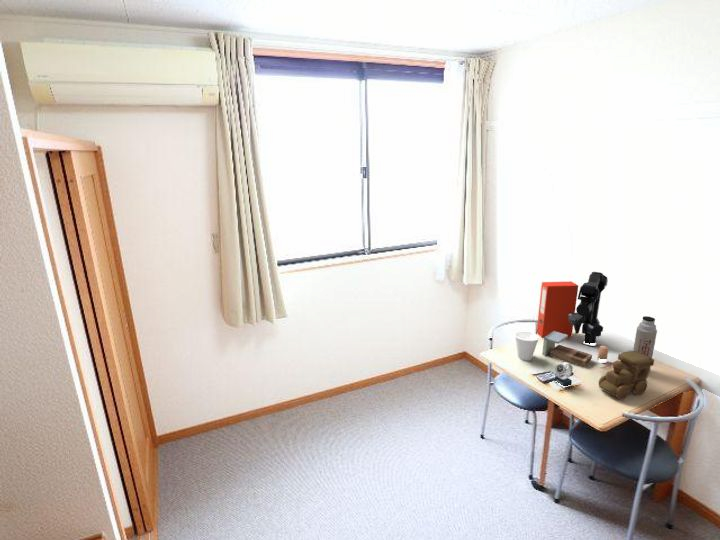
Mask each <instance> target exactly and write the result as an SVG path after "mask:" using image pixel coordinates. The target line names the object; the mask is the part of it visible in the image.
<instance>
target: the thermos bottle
mask: <svg viewBox="0 0 720 540" xmlns="http://www.w3.org/2000/svg"><path fill="white" fill-rule="evenodd" d="M655 321H656V318H654V317H652V316H647V315H646V316H643V317H642V321H640V322H639V324H638V326H637V327H636V332H635V337H634V343H633V348H632V349H633V350H632V351H637V352H640V353H642V354H644V355H646V356H649V357H650V358H652V359H653V355H654V350H655V345H656V338H657V334H658V330H657V325H656V324H655ZM651 367H652V366H650V368H651ZM650 373H651V369H650V370H649V373H648V375H650Z"/></svg>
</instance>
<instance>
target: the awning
mask: <svg viewBox="0 0 720 540" xmlns="http://www.w3.org/2000/svg"><path fill="white" fill-rule="evenodd" d="M567 338H569V337H568V335H566V334H562V333H559V332H556V331H553V332H552V333H550V334H549V335H547V336H546V337H544V338H543V345H542V353H541V355H542V356H544V357H546V356H547V355H548V354H550V352H551V350H552V349H553V348H555V347H556V344H557V345H560V343H562V342H563V341H565V339H567Z"/></svg>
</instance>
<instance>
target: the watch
mask: <svg viewBox="0 0 720 540" xmlns="http://www.w3.org/2000/svg"><path fill="white" fill-rule="evenodd" d="M567 367H568V368H567ZM573 369H574V367H573V364H571V363H568V362H565V361H563V362H560V363H557V364H556V365H555V368H554V371H555V375H556V376H554V382H555V381H557V382H558V383H560V384H561V385H563V386H568V385H571V386H572V381H573V380H572V379H571V378H570V376H571V375H572V373H573Z"/></svg>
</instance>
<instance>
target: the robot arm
mask: <svg viewBox="0 0 720 540" xmlns="http://www.w3.org/2000/svg"><path fill="white" fill-rule="evenodd" d="M608 279H609V278H608V277H607V276H606V275H605V274H604V273H602V272H598V271H592V272H591V273H590V274H589V276H588V281H587V282H584V283H583V284H582V285H580V287H579V290H578V294H577V300H579V301H580V302H579V304H578V305H577V306H576V308H575V313H570V314H569V315H568V320H569V323H571V324H572V325H573V329H574V332H575V334H576V335H578V334H579V332H580V330H581V334H584V338H583V339H584V340H583V341H585V343H589V344H590V343H595V342H596V343H597V338H599V337H601V336H602V332H603V330H604V327H603V326H602V325H601V323H600V321H599V318H598V314H599V310H600V309H599V308H600V304H601V303H600V302H601V295H602V292H603V291H604V290H605V289H606V287H608ZM581 327H582V328H581Z"/></svg>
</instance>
